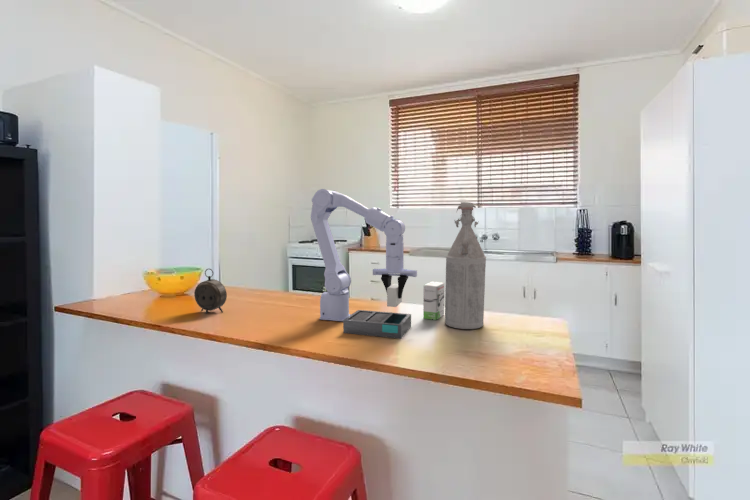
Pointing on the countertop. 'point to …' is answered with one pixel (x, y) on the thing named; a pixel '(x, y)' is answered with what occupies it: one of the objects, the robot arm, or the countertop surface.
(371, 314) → the rack
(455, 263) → the grey bottle
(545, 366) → the countertop surface
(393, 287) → the block
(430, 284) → the ink box
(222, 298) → the alarm clock
